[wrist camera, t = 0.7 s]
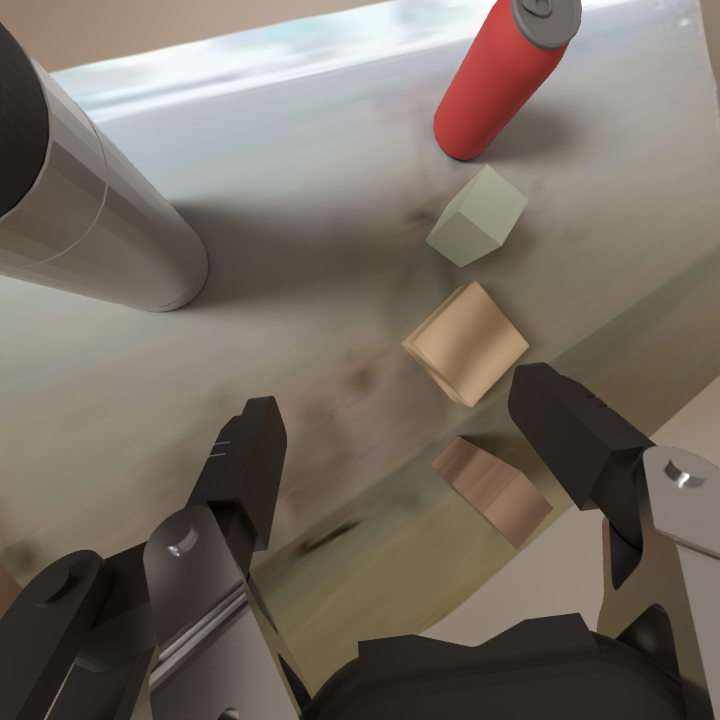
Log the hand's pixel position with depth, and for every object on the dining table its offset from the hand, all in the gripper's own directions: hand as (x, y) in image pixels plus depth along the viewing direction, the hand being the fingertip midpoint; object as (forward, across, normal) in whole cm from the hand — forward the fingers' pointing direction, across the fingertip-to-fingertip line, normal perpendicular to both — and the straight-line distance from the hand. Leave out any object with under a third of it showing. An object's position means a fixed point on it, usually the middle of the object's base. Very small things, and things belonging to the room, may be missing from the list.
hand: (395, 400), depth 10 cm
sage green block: (+26, -11, 0) cm, 28 cm away
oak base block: (+20, -10, +10) cm, 25 cm away
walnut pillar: (+14, -8, +22) cm, 27 cm away
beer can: (+32, -13, -10) cm, 36 cm away
